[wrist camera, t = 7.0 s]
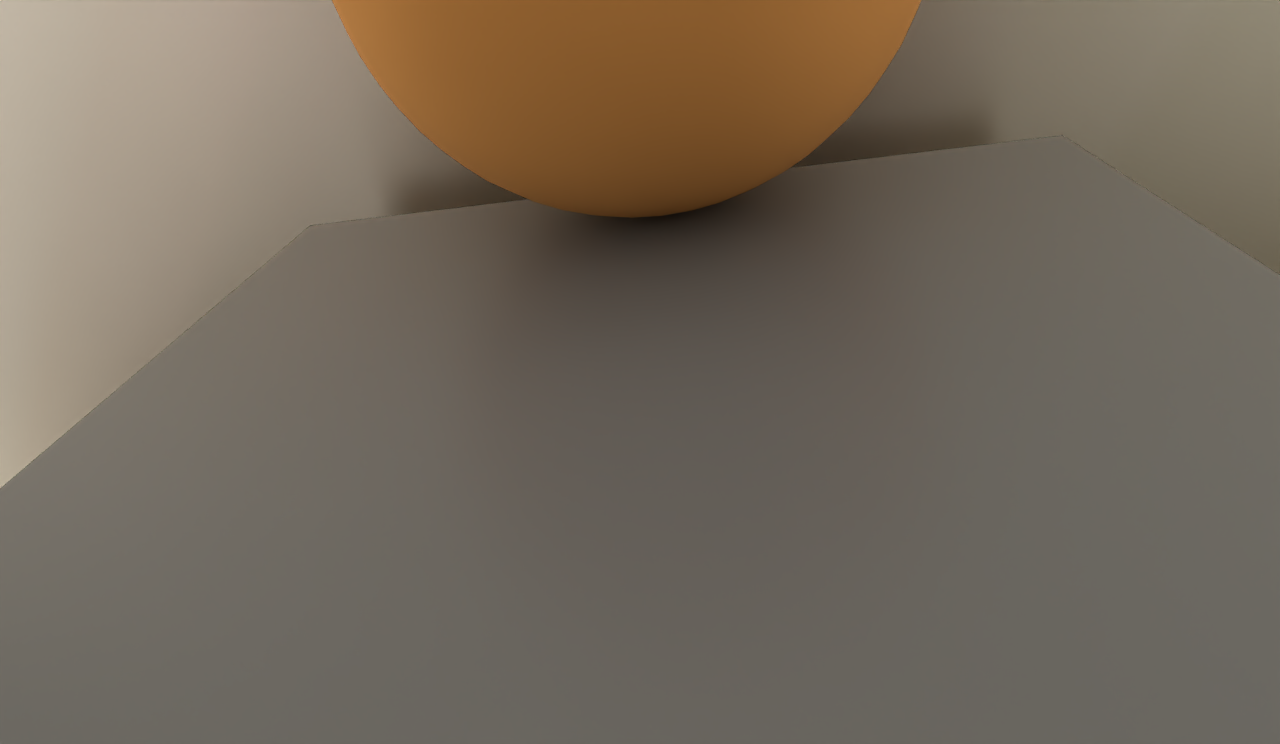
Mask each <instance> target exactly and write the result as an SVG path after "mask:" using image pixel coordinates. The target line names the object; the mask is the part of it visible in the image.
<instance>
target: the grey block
mask: <svg viewBox="0 0 1280 744" xmlns="http://www.w3.org/2000/svg"><path fill="white" fill-rule="evenodd" d="M0 744H1280V275H1279V274H1277V273H1276V272H1274V271H1273V270H1271V269H1270V268H1268V267H1267V266H1265V265H1263V264H1262V263H1260V262H1259V261H1257V260H1256V259H1254V258H1253V257H1251V256H1249V255H1248V254H1246V253H1245V252H1243V251H1242V250H1240V249H1239V248H1237V247H1235V246H1234V245H1232V244H1231V243H1229V242H1228V241H1226V240H1225V239H1223V238H1221V237H1220V236H1218V235H1217V234H1215V233H1214V232H1212V231H1211V230H1209V229H1207V228H1206V227H1204V226H1203V225H1201V224H1200V223H1198V222H1197V221H1195V220H1193V219H1192V218H1190V217H1189V216H1187V215H1186V214H1184V213H1183V212H1181V211H1179V210H1178V209H1176V208H1175V207H1173V206H1172V205H1170V204H1169V203H1167V202H1165V201H1164V200H1162V199H1161V198H1159V197H1158V196H1156V195H1155V194H1153V193H1151V192H1150V191H1148V190H1147V189H1145V188H1144V187H1142V186H1141V185H1139V184H1137V183H1136V182H1134V181H1133V180H1131V179H1130V178H1128V177H1127V176H1125V175H1123V174H1122V173H1120V172H1119V171H1117V170H1116V169H1114V168H1113V167H1111V166H1109V165H1108V164H1106V163H1105V162H1103V161H1102V160H1100V159H1099V158H1097V157H1095V156H1094V155H1092V154H1091V153H1089V152H1088V151H1086V150H1085V149H1083V148H1081V147H1080V146H1078V145H1077V144H1075V143H1074V142H1072V141H1071V140H1069V139H1067V138H1066V137H1064V136H1063V135H1061V136H1052V137H1044V138H1036V139H1027V140H1019V141H1011V142H1002V143H994V144H986V145H977V146H969V147H961V148H952V149H944V150H935V151H927V152H919V153H910V154H902V155H894V156H885V157H877V158H869V159H860V160H852V161H844V162H835V163H827V164H819V165H810V166H802V167H794V168H789V169H788V170H786V171H785V172H783V173H781V174H780V175H778V176H776V177H774V178H772V179H770V180H769V181H767V182H765V183H763V184H761V185H759V186H757V187H756V188H753V189H751V190H749V191H747V192H745V193H742V194H740V195H737V196H735V197H732V198H730V199H727V200H725V201H722V202H720V203H717V204H713V205H710V206H706V207H703V208H699V209H696V210H692V211H687V212H681V213H675V214H669V215H664V216H651V217H634V218H629V217H610V216H595V215H588V214H582V213H576V212H570V211H564V210H560V209H557V208H553V207H550V206H547V205H543V204H540V203H537V202H533V201H531V200H529V199H527V200H518V201H510V202H502V203H493V204H485V205H477V206H468V207H460V208H452V209H443V210H435V211H427V212H418V213H410V214H402V215H393V216H385V217H376V218H368V219H360V220H351V221H343V222H335V223H326V224H318V225H310V226H309V227H308V228H307V229H306V230H304V231H303V232H302V233H301V234H300V235H298V236H297V237H296V238H295V239H294V240H293V241H291V242H290V243H289V244H288V245H287V246H285V247H284V248H283V249H282V250H281V251H280V252H278V253H277V254H276V255H275V256H274V257H273V258H271V259H270V260H269V261H268V262H267V263H265V264H264V265H263V266H262V267H261V268H260V269H258V270H257V271H256V272H255V273H254V274H252V275H251V276H250V277H249V278H248V279H247V280H245V281H244V282H243V283H242V284H241V285H240V286H238V287H237V288H236V289H235V290H234V291H232V292H231V293H230V294H229V295H228V296H227V297H225V298H224V299H223V300H222V301H221V302H219V303H218V304H217V305H216V306H215V307H214V308H212V309H211V310H210V311H209V312H208V313H207V314H205V315H204V316H203V317H202V318H201V319H199V320H198V321H197V322H196V323H195V324H194V325H192V326H191V327H190V328H189V329H188V330H186V331H185V332H184V333H183V334H182V335H181V336H179V337H178V338H177V339H176V340H175V341H174V342H172V343H171V344H170V345H169V346H168V347H166V348H165V349H164V350H163V351H162V352H161V353H159V354H158V355H157V356H156V357H155V358H153V359H152V360H151V361H150V362H149V363H148V364H146V365H145V366H144V367H143V368H142V369H141V370H139V371H138V372H137V373H136V374H135V375H133V376H132V377H131V378H130V379H129V380H128V381H126V382H125V383H124V384H123V385H122V386H120V387H119V388H118V389H117V390H116V391H115V392H113V393H112V394H111V395H110V396H109V397H108V398H106V399H105V400H104V401H103V402H102V403H100V404H99V405H98V406H97V407H96V408H95V409H93V410H92V411H91V412H90V413H89V414H87V415H86V416H85V417H84V418H83V419H82V420H80V421H79V422H78V423H77V424H76V425H75V426H73V427H72V428H71V429H70V430H69V431H67V432H66V433H65V434H64V435H63V436H62V437H60V438H59V439H58V440H57V441H56V442H54V443H53V444H52V445H51V446H50V447H49V448H47V449H46V450H45V451H44V452H43V453H42V454H40V455H39V456H38V457H37V458H36V459H34V460H33V461H32V462H31V463H30V464H29V465H27V466H26V467H25V468H24V469H23V470H22V471H20V472H19V473H18V474H17V475H16V476H14V477H13V478H12V479H11V480H10V481H9V482H7V483H6V484H5V485H4V486H3V487H1V488H0Z"/></svg>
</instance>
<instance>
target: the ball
mask: <svg viewBox="0 0 1280 744" xmlns="http://www.w3.org/2000/svg"><path fill="white" fill-rule="evenodd" d="M332 1H333V4H334V6H335V8H336V10H337V12H338V14H339V16H340V18H341V21H342V23H343V25H344V27H345V29H346V31H347V33H348V35H349V37H350V39H351V41H352V42H353V44H354V46H355V48H356V50H357V52H358V53H359V55H360V57H361V59H362V60H363V62H364V63H365V65H366V66H367V68H368V69H369V70H370V72H371V73H372V75H373V76H374V78H375V79H376V81H377V82H378V84H379V85H380V87H381V88H382V89H383V90H384V92H385V93H386V94H387V95H388V96H389V98H390V99H391V100H392V101H393V103H394V104H395V105H396V106H397V107H398V109H399V110H400V111H401V112H402V113H403V114H404V115H405V116H406V117H407V118H408V119H409V120H410V121H411V122H412V124H413V125H414V126H415V127H416V128H417V129H418V130H419V131H420V132H421V133H423V134H424V135H425V136H426V137H427V138H428V139H429V140H431V141H432V142H433V143H434V144H435V145H436V146H437V147H439V148H440V149H441V150H442V151H443V152H445V153H446V154H448V155H449V156H450V157H452V158H453V159H454V160H456V161H457V162H459V163H460V164H461V165H463V166H464V167H466V168H467V169H469V170H471V171H472V172H474V173H475V174H477V175H478V176H480V177H482V178H483V179H485V180H486V181H488V182H490V183H493V184H495V185H497V186H499V187H502V188H504V189H506V190H508V191H511V192H513V193H515V194H517V195H520V196H522V197H524V198H526V199H529V200H531V201H533V202H537V203H540V204H543V205H547V206H550V207H553V208H557V209H560V210H564V211H570V212H576V213H582V214H588V215H595V216H610V217H629V218H634V217H651V216H664V215H669V214H675V213H681V212H687V211H692V210H696V209H699V208H703V207H706V206H710V205H713V204H717V203H720V202H722V201H725V200H727V199H730V198H732V197H735V196H737V195H740V194H742V193H745V192H747V191H749V190H751V189H753V188H756V187H757V186H759V185H761V184H763V183H765V182H767V181H769V180H770V179H772V178H774V177H776V176H778V175H780V174H781V173H783V172H785V171H786V170H788V169H789V168H791V167H792V166H793V165H795V164H796V163H798V162H799V161H801V160H802V159H803V158H805V157H806V156H808V155H809V154H810V153H812V152H813V151H814V150H815V149H816V148H817V147H818V146H819V145H820V144H821V143H823V142H824V141H825V140H826V139H827V138H828V137H829V136H830V135H831V134H833V133H834V132H835V131H836V130H837V129H838V128H839V127H840V126H841V125H842V124H843V123H844V122H845V121H846V120H847V119H848V118H849V117H850V116H851V115H852V114H853V113H854V111H855V110H856V109H857V108H858V107H859V105H860V104H861V103H862V102H863V101H864V100H865V98H866V97H867V96H868V95H869V94H870V92H871V91H872V89H873V88H874V86H875V85H876V83H877V82H878V81H879V79H880V78H881V76H882V75H883V73H884V72H885V70H886V69H887V67H888V66H889V64H890V62H891V61H892V59H893V57H894V56H895V54H896V53H897V51H898V49H899V48H900V46H901V45H902V43H903V41H904V38H905V36H906V34H907V32H908V30H909V27H910V25H911V23H912V21H913V19H914V16H915V14H916V12H917V10H918V7H919V5H920V2H921V0H332Z"/></svg>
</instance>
